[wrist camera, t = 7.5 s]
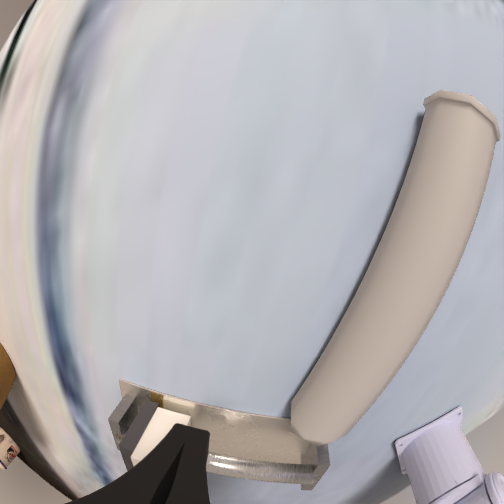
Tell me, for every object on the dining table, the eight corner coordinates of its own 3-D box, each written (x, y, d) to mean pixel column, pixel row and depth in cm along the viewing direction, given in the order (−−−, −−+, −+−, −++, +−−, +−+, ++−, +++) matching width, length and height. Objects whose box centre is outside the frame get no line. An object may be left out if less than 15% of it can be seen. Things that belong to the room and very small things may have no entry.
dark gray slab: (158, 403, 21) (132, 451, 15) (162, 440, 22) (142, 483, 16) (146, 399, 21) (118, 445, 15) (151, 436, 22) (130, 478, 16)
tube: (346, 453, 16) (511, 141, 10) (287, 460, 15) (474, 86, 8) (322, 408, 21) (455, 134, 15) (269, 407, 20) (411, 93, 13)
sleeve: (190, 416, 20) (169, 470, 14) (190, 449, 21) (173, 497, 15) (157, 406, 20) (130, 456, 14) (161, 441, 22) (140, 486, 16)
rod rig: (337, 421, 20) (344, 462, 15) (311, 467, 22) (313, 501, 17) (119, 378, 21) (95, 410, 17) (130, 430, 23) (112, 459, 18)
